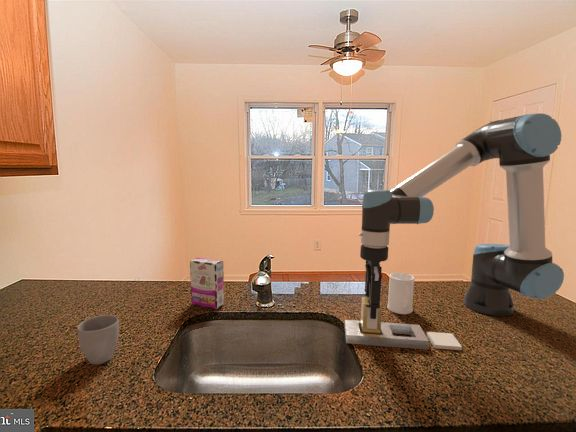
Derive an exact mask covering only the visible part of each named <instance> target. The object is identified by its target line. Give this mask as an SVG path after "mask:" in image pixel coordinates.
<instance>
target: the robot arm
mask: <svg viewBox="0 0 576 432" xmlns="http://www.w3.org/2000/svg"><path fill="white" fill-rule="evenodd" d="M561 142H562V130H561V126H560V125H559V123H558V122H557V121H556V119H555V118H552V116H551V115H549V114H546V113H528V114H527V113H526V114H523V115H519V116H512V117H509V118H504V119H498V120H494V121H491V122H488V123H487V124H485V125H482V126H481V127H479V128H477V129H476V130H474V131H472V132H471V133H470V134H468V135H466V136H465V137H463V138H462V139H461V140H459V141H458V142H456V144H455V146H454V148H453V149H451V150H449V151H447V153H445V154H444V155H442V156H440V157H439V158H437V159H436V160H435V161H433V162H431V163H429V164H428V165H427V166H425V167H424V168H422V169H420V170H419V171H417V172H416V173H415V174H413V175H412V176H410V177H408V178H407V179H406V180H404V181H402V182H401V183H399V184H398V185H396V186H394V187H393V188H391V189H390V190H389V189H367V190H365V191H364V192H363V197H362V205H361V210H362V211H361V232H359V233H358V236H359V237H360V243H361V245H360V255H359V257H360V258H361V259H362V260H364V261H365V264H364V266H365V278H364V280H365V282H364V283H365V284H364V295H365V297H369V304H368V305H367V304H366V307H368V312H367V328H369V329H377V319H378V308H380V302H381V289H382V278H383V274H382V268H383V267H382V266H381V264H380V263H381V262H386V261H387V260H389V259H388V258H389V247H388V246H389V245H390V230H391V229H390V228H391V225H397V224H398V225H401V224H403V225H406V224H407V225H409V224H410V225H415V224H416V225H420V224H427V223H429V222H431V220H433V219H432V218H433V217H434V209H435V208H434V203H433V202H432V200H431V199H430V198H428V197H426V196H427V194H429V193H431V192H433V191H434V190H435V189H437V188H438V187H441V186H442V185H443V184H444V183H446V182H447V181H449V180H451V179H452V178H453V177H455V176H456V175H458V174H459V173H460V174H461V172H463V171H465V170H466V169H467V168H468V167H476V166H478V165H480V164H481V163H482V162H485V161H489V160H494V159H499V160H498V162H499V163H498V165H499V167H500V168H501V169H503V170H504V171H505V178H506V197H507V199H506V201H507V219H508V237H509V238H508V239H509V244H505V243H504V244H503V243H502V244H501V243H480V244H479V243H478V244H476V245H475V247H474V251H473V255H472V266H471V279H470V284H469V286H468V288H467V290H466V291H465V294H464V296H463V304H464V305H465V306H466V307H467V308H468V309H470V310H472V311H476V312H478V313H480V314H484V315H489V316H493V317H494V316H497V317H508V316H511V315H513V314H514V311H515V310H514V309H515V305H514V302H513V298H512V293H511V290H512V291H515V292H518V293H520V294H521V295H522V296H525V297H528V298H531V299H534V300H535V299H536V300H545V299H549V298H550V297H552V296H553V295H555V294H556V293H557V292H558V291H559V290H560V288H561V287H562V286H563V285H562V284H563V282H564V279H565V273H564V270H563V268H562V267H561V266H560V265H558V264H556V263H554V262H553V253H552V251H551V250H549V249H548V248H547V247H546V225H545V223H546V221H545V194H544V193H545V190H544V167H545V166H546V165H547V164H548V163H549V162H550V161H551V155H552V154H554V153H555V152H556V151H557V150H558V148H559V147H558V146H560V145H561Z"/></svg>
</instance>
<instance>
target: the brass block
mask: <svg viewBox="0 0 576 432" xmlns="http://www.w3.org/2000/svg"><path fill="white" fill-rule="evenodd" d="M366 304H367V305H368V304H369V297H367V296H361V306H360V308H361V309H360V321H361V324H360V333H362V334H375V335H380V332H381V322H382V316H383V315H382V312H383V304H382V302H381V301H380V308H378V319H377V329H369V328H367V312H368V307H366Z"/></svg>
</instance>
